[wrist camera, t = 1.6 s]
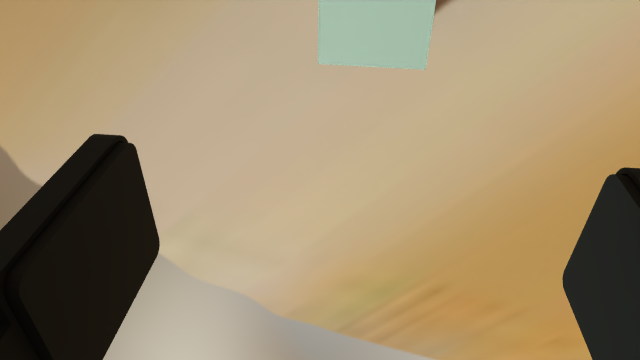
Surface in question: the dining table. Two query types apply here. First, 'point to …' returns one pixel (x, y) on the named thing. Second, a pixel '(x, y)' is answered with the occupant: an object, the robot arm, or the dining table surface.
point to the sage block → (375, 32)
